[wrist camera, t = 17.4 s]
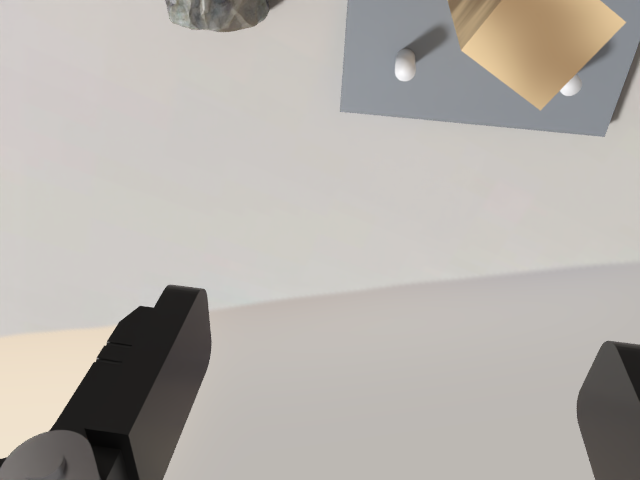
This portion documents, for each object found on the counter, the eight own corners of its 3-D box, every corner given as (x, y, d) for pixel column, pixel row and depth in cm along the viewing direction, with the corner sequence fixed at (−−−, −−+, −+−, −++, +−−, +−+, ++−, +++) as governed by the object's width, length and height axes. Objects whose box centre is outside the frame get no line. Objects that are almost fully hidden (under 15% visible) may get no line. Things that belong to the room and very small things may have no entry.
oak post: (501, 36, 38) (540, 110, 27) (445, -8, 37) (460, 50, 26) (556, -29, 36) (626, 22, 24) (498, -78, 34) (541, -50, 23)
